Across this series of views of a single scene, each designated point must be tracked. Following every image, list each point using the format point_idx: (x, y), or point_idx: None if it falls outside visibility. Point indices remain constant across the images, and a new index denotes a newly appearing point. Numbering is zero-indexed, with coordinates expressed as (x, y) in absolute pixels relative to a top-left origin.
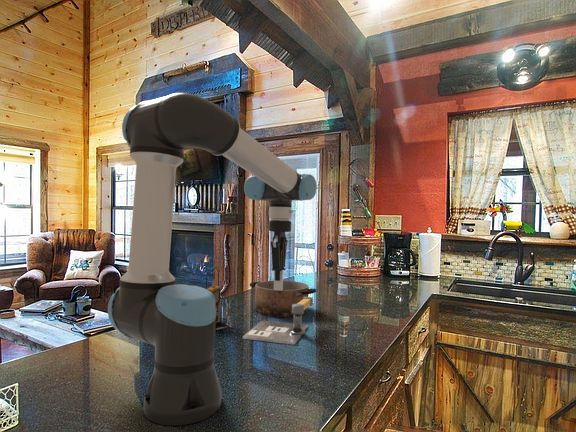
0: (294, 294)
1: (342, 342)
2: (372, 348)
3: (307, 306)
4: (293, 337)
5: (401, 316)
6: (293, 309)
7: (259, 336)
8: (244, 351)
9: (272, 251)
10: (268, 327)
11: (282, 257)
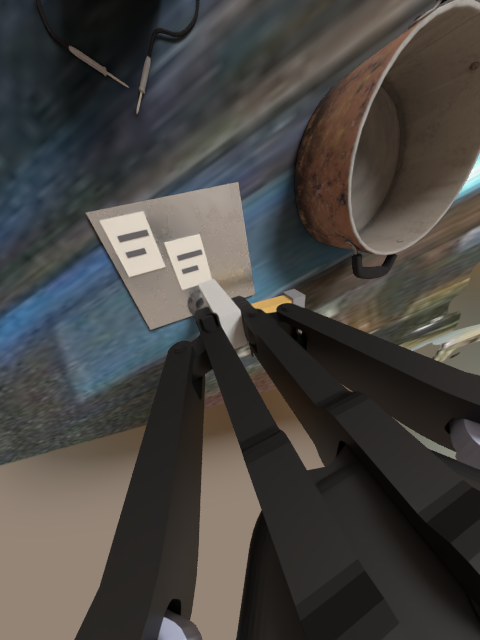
0: (347, 238)
1: None
2: (213, 396)
3: None
4: (172, 313)
5: None
6: None
7: (118, 256)
8: (21, 272)
9: (128, 513)
10: (188, 239)
11: (280, 392)
